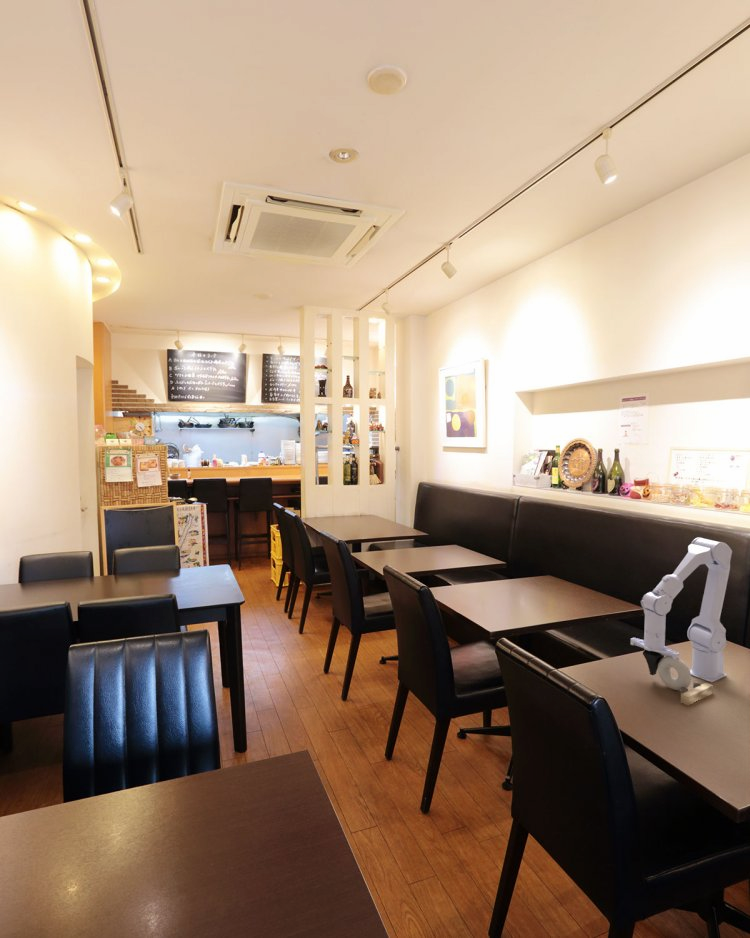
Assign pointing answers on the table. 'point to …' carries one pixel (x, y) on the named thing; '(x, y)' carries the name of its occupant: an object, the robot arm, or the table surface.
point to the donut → (681, 668)
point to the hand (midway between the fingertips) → (653, 674)
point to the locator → (696, 692)
